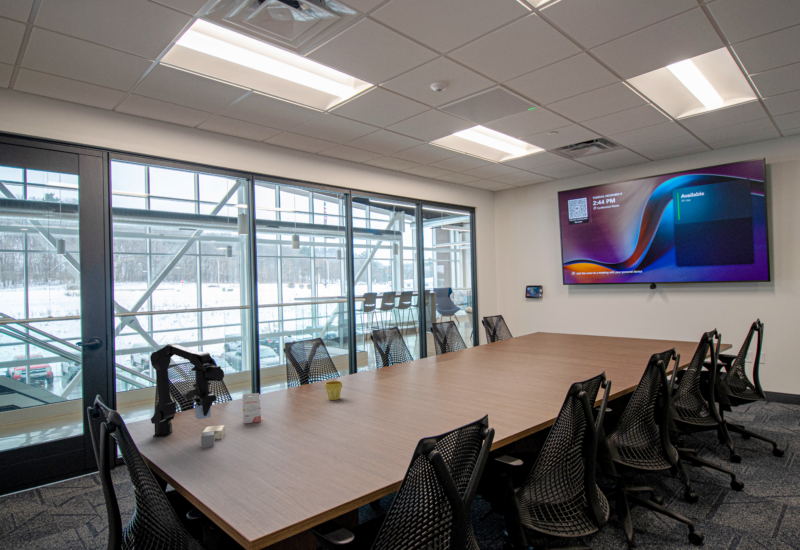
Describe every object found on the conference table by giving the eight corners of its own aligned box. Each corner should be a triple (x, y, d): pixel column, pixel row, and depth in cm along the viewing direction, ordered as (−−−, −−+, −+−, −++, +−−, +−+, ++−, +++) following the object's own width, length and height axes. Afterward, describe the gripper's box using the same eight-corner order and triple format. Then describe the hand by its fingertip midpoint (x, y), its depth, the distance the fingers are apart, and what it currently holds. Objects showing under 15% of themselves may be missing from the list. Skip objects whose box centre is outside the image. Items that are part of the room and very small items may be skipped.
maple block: (203, 440, 203) (202, 432, 203) (207, 435, 210) (207, 426, 210) (221, 439, 204) (221, 430, 204) (225, 433, 212) (224, 425, 212)
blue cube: (199, 419, 200) (199, 408, 200) (195, 417, 204) (195, 406, 204) (210, 416, 204) (210, 405, 204) (206, 414, 207) (206, 404, 207)
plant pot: (323, 398, 272) (323, 381, 273) (339, 395, 277) (339, 379, 277) (328, 401, 263) (327, 385, 263) (344, 399, 267) (344, 383, 268)
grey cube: (201, 448, 193) (201, 436, 193) (202, 444, 198) (202, 432, 198) (213, 446, 195) (213, 434, 195) (214, 442, 200) (214, 431, 200)
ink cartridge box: (261, 419, 233) (260, 390, 233) (260, 421, 228) (260, 392, 228) (243, 420, 230) (243, 392, 231) (243, 423, 226) (242, 394, 226)
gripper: (177, 380, 205) (177, 414, 205) (190, 386, 192) (191, 423, 191) (202, 376, 213) (202, 409, 213) (216, 382, 199) (217, 417, 199)
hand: (203, 414), depth 204 cm, fingers closed on blue cube, 5 cm apart
